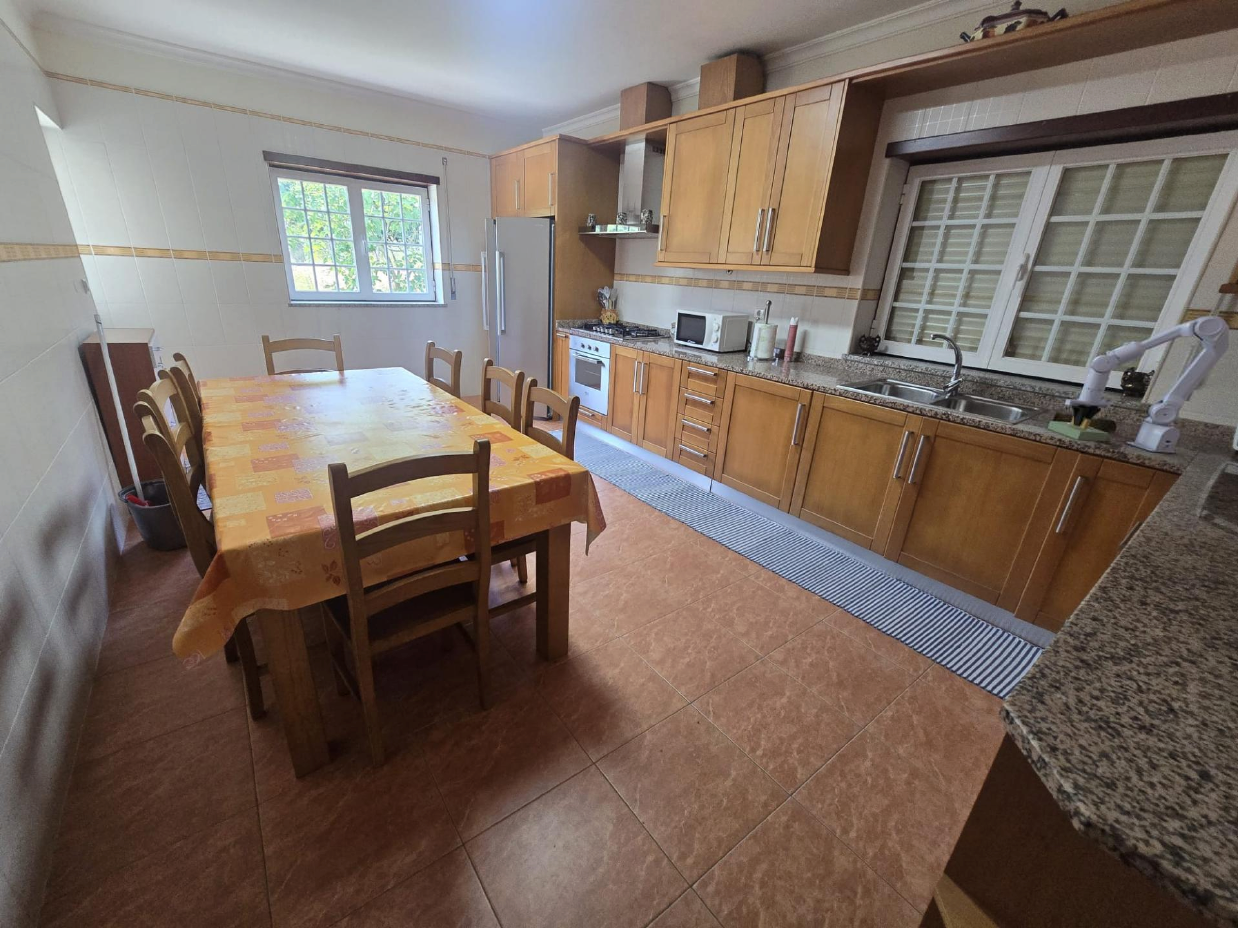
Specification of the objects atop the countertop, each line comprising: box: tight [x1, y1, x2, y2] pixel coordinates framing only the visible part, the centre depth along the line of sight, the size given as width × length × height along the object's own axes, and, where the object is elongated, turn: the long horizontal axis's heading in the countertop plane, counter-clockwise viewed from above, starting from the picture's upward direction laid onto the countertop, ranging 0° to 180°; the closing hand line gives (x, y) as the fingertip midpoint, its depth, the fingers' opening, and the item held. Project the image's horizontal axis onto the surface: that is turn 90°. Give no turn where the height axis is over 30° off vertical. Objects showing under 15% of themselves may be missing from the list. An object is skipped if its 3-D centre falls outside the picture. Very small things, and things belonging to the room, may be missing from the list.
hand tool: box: [1052, 411, 1118, 433], centre depth 198 cm, size 19×4×5 cm, turn 37°
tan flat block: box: [1070, 416, 1091, 429], centre depth 184 cm, size 6×1×4 cm, turn 178°
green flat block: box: [1047, 420, 1110, 442], centre depth 185 cm, size 14×10×3 cm
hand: (1079, 425), depth 184 cm, fingers closed on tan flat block
